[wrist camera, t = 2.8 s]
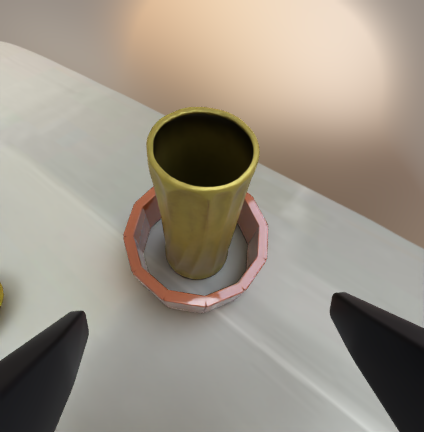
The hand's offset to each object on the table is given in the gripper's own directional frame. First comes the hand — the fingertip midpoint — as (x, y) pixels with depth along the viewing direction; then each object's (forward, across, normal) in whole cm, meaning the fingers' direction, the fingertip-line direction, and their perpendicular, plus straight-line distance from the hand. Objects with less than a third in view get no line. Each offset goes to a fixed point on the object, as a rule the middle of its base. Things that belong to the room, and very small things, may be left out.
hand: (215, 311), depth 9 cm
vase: (+14, 0, +5) cm, 15 cm away
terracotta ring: (+14, 0, +4) cm, 15 cm away
